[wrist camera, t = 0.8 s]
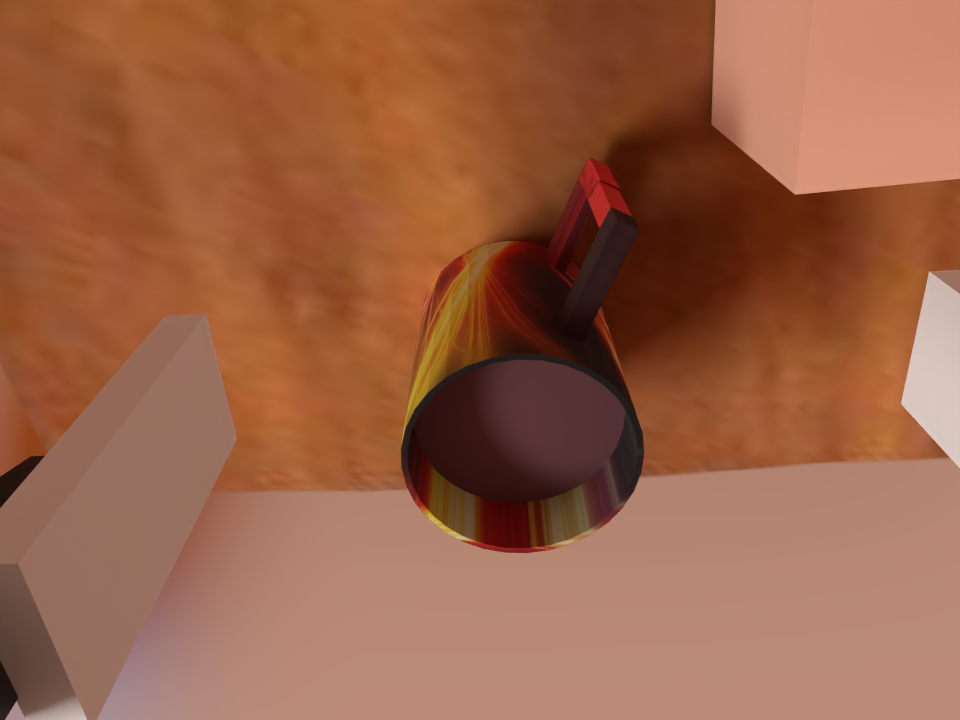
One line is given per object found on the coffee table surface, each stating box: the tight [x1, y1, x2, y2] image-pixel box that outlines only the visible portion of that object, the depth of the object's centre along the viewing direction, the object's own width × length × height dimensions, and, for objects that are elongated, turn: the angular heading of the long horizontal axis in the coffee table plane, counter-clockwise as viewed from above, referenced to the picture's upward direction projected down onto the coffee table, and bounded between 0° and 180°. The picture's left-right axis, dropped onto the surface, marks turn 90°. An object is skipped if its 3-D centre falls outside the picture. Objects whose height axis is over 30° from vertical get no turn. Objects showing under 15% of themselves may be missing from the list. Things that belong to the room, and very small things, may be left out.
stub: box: [711, 0, 960, 195], centre depth 29 cm, size 8×7×11 cm
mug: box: [401, 157, 644, 553], centre depth 36 cm, size 10×14×12 cm
